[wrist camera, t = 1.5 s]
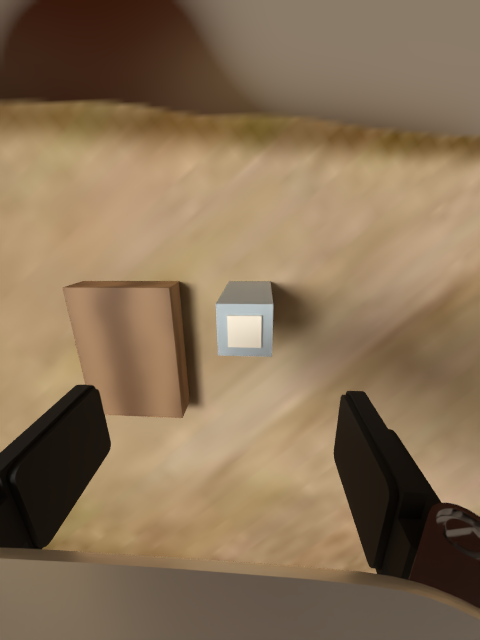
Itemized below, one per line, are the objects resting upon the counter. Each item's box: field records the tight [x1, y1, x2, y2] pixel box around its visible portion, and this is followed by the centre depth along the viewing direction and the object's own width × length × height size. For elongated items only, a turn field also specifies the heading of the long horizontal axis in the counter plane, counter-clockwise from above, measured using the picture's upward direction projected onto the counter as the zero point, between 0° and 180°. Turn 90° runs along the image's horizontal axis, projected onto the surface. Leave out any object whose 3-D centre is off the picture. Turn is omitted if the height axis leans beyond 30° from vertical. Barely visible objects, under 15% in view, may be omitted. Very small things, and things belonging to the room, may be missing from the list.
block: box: [216, 281, 273, 357], centre depth 23 cm, size 4×4×8 cm
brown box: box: [63, 281, 190, 418], centre depth 28 cm, size 10×14×3 cm
